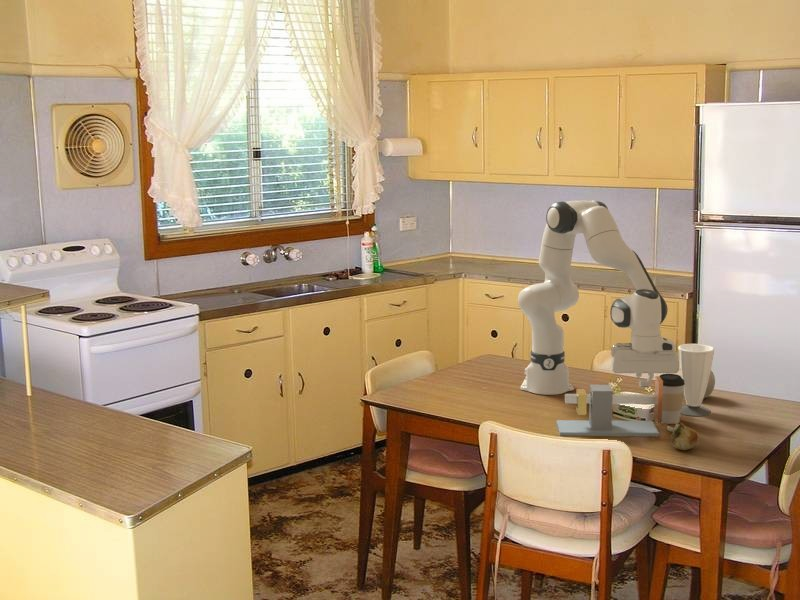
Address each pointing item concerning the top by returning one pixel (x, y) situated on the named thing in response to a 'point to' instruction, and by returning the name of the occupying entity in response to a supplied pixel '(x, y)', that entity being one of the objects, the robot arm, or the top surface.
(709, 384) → the fruit
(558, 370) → the robot arm
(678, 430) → the onion
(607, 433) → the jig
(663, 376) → the coffee cup
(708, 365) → the cup
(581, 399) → the block
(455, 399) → the top surface
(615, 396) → the shaft
